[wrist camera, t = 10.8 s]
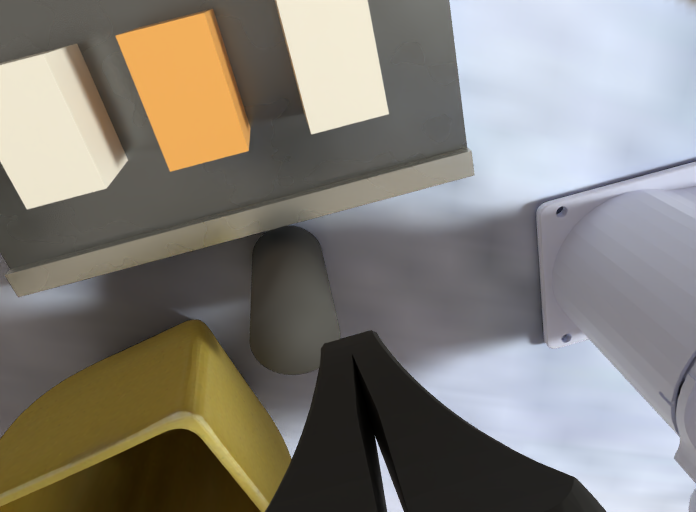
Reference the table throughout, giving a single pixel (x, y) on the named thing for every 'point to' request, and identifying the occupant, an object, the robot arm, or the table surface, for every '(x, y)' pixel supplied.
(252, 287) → the cylinder
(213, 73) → the block
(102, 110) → the block
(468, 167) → the panel
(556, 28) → the table surface
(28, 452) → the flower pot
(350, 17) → the block
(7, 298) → the table surface
